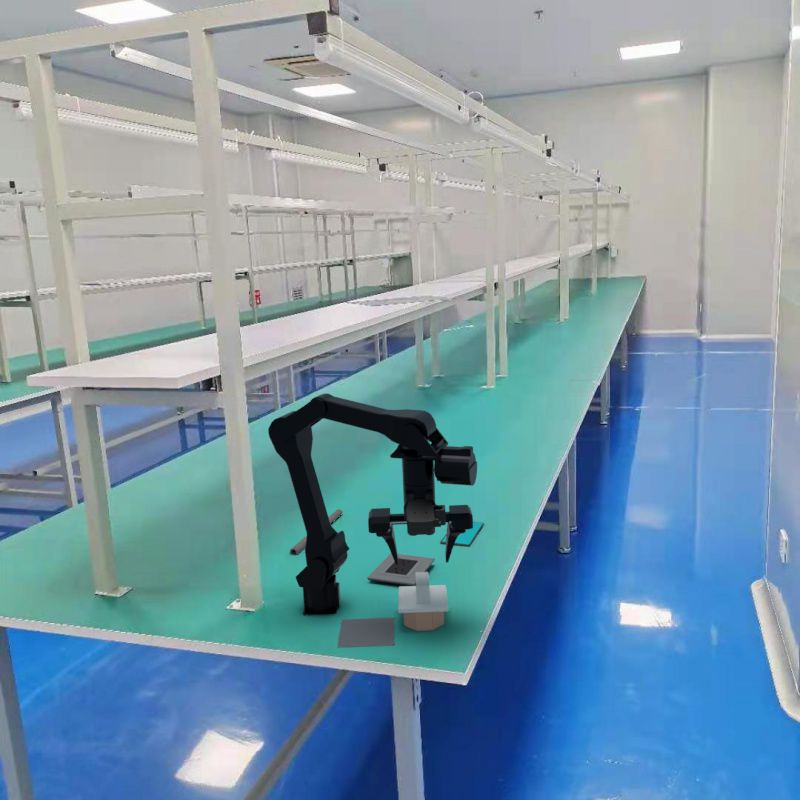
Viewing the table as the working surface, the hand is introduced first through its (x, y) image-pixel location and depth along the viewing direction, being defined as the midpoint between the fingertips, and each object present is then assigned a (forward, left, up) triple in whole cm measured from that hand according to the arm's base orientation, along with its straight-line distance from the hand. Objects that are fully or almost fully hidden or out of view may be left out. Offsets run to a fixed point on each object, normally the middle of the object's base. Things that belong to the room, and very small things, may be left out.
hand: (421, 562), depth 133 cm
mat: (-11, -3, -12) cm, 16 cm away
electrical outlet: (-4, +21, -12) cm, 25 cm away
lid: (0, 0, -8) cm, 8 cm away
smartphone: (+11, +43, -12) cm, 46 cm away
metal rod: (-25, +47, -12) cm, 55 cm away
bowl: (0, 0, -12) cm, 12 cm away
